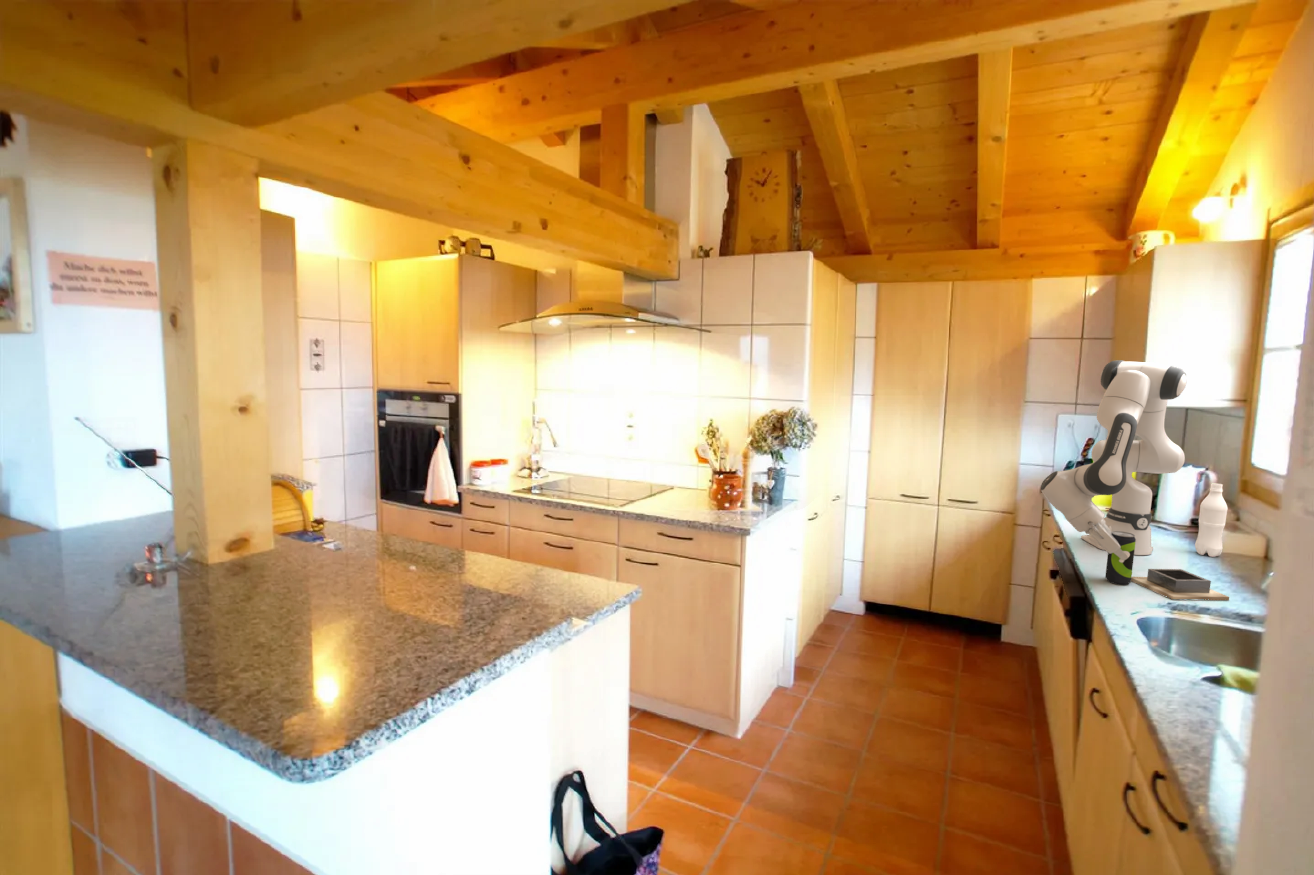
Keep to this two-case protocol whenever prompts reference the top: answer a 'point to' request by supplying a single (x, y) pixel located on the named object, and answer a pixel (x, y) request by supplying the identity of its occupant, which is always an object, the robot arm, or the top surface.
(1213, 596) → the docking plate
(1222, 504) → the water bottle
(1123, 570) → the beverage can
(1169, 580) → the gray open box
